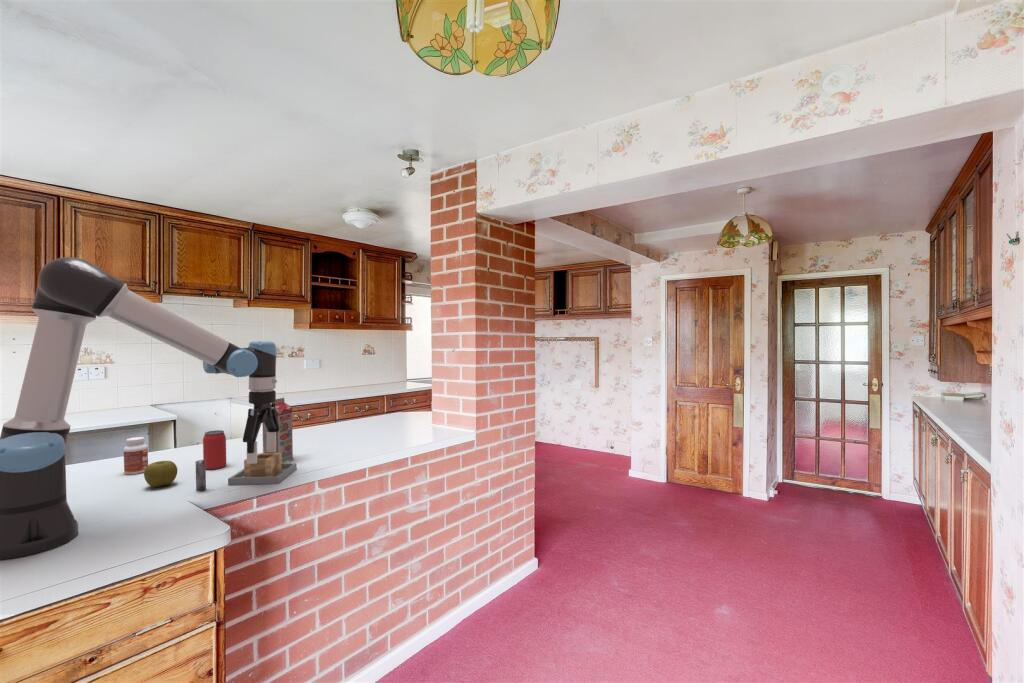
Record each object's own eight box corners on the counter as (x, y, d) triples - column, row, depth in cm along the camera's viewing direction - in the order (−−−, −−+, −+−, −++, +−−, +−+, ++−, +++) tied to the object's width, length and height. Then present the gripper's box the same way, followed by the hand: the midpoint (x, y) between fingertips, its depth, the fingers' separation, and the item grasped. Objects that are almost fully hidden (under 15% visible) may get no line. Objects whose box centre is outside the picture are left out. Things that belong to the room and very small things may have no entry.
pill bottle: (147, 472, 153) (146, 439, 152) (122, 476, 149) (121, 441, 149) (149, 468, 158) (148, 435, 158) (125, 471, 155) (124, 437, 154)
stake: (203, 491, 135) (202, 462, 135) (194, 491, 135) (193, 462, 135) (207, 488, 138) (207, 459, 138) (199, 488, 138) (198, 460, 137)
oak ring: (271, 478, 145) (271, 459, 145) (244, 479, 144) (244, 460, 144) (281, 470, 153) (281, 452, 153) (256, 471, 152) (255, 453, 152)
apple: (143, 485, 141) (143, 462, 140) (176, 479, 146) (176, 457, 146) (145, 492, 135) (144, 467, 135) (179, 486, 140) (178, 462, 140)
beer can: (199, 468, 157) (198, 433, 157) (219, 463, 163) (218, 429, 163) (210, 471, 154) (209, 435, 154) (230, 466, 160) (229, 431, 160)
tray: (278, 483, 142) (278, 477, 142) (228, 485, 141) (228, 478, 141) (296, 469, 157) (296, 463, 156) (250, 470, 155) (250, 464, 155)
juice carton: (263, 462, 164) (262, 400, 163) (277, 457, 170) (276, 397, 170) (278, 464, 162) (277, 400, 161) (292, 459, 168) (291, 398, 168)
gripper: (256, 395, 136) (256, 468, 136) (290, 385, 160) (289, 447, 161) (229, 395, 135) (229, 468, 135) (267, 385, 160) (266, 447, 160)
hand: (261, 457), depth 148 cm, fingers open, 13 cm apart
